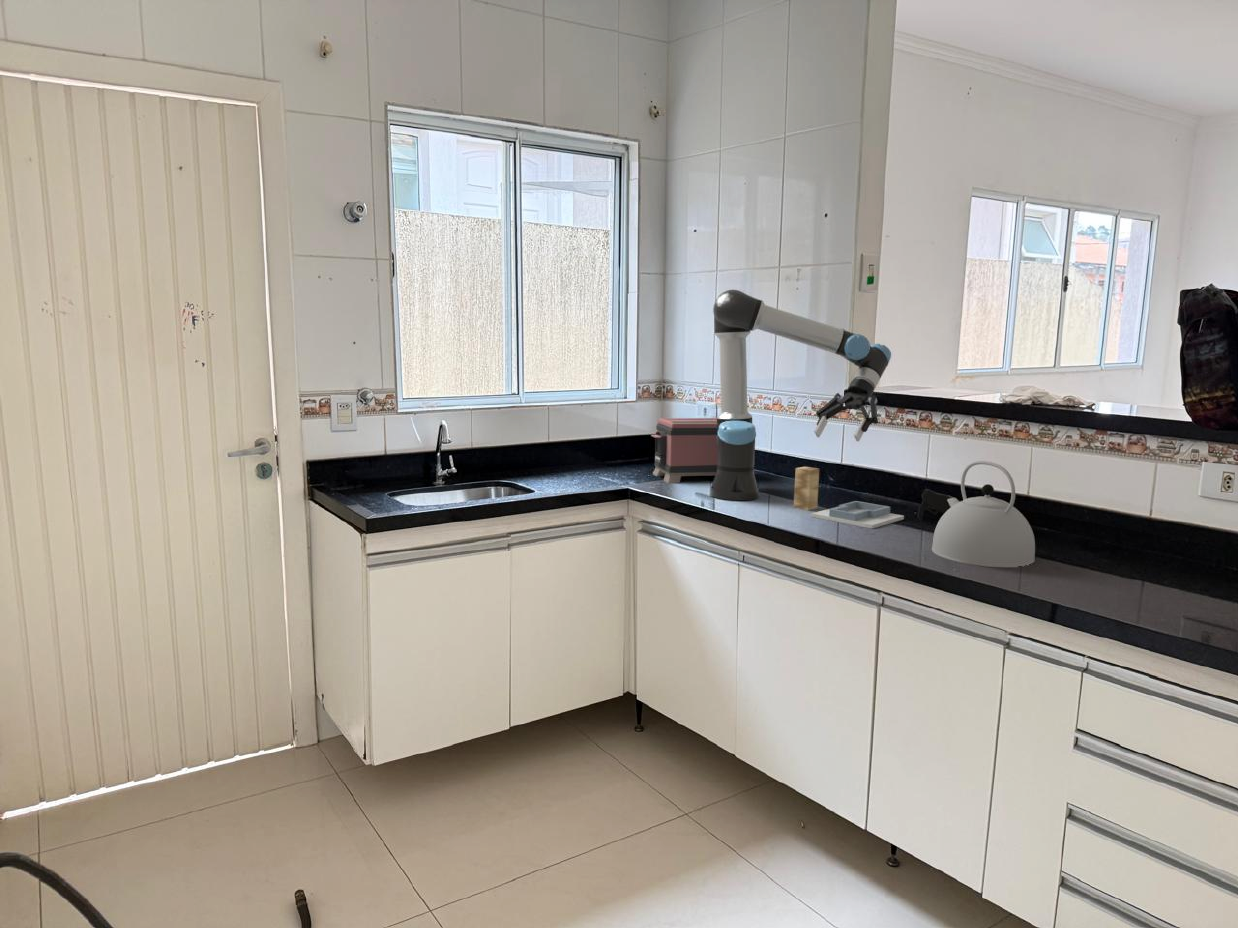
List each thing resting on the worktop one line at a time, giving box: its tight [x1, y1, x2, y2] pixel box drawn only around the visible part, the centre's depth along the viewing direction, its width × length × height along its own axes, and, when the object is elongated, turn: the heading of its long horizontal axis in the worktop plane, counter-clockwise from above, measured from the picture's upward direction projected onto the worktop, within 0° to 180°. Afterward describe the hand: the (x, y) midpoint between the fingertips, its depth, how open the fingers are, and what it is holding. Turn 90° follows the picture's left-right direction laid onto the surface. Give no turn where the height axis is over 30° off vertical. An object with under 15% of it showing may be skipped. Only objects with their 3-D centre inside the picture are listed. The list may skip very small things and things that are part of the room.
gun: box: [917, 488, 961, 522], centre depth 236 cm, size 3×16×10 cm, turn 79°
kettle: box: [931, 460, 1036, 568], centre depth 201 cm, size 25×23×23 cm
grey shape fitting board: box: [810, 500, 905, 529], centre depth 239 cm, size 19×18×3 cm
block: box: [793, 466, 820, 511], centre depth 251 cm, size 5×5×12 cm
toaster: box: [650, 417, 718, 484], centre depth 300 cm, size 19×34×21 cm, turn 104°
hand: (836, 436), depth 258 cm, fingers open, 13 cm apart
